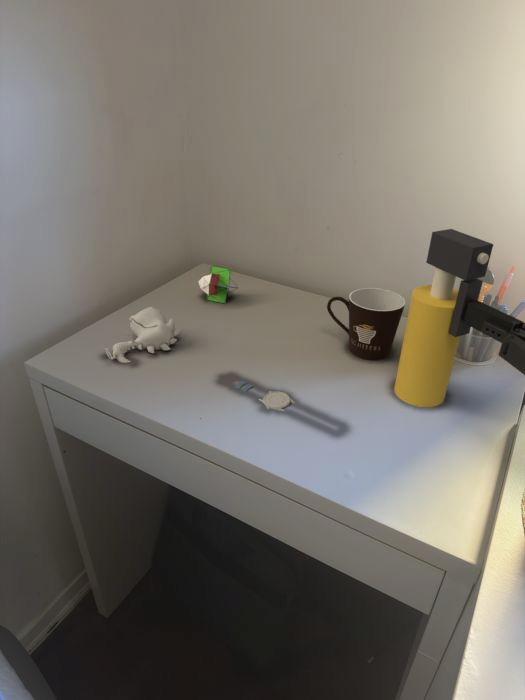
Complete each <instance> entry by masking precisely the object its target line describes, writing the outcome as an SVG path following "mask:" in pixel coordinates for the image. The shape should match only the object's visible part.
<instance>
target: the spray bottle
mask: <svg viewBox="0 0 525 700" xmlns="http://www.w3.org/2000/svg"><path fill="white" fill-rule="evenodd" d="M493 247H494V243H492V242H489V241H486V240H483V239H480V238H478V237H475V236H472V235H469V234H466V233H464V232H461V231H459V230H456V229H453V228H447V229H442V230H435V231H431V236H430V242H429V246H428V252H427V256H426V264H428V265H430V266H433V267H434V268H435V269H434V273H433V277H432V278H433V279H432V283H431V284H428V285H421V286H417V287H415V288H413V290H412V293H411V298H410V304H409V308H408V314H407V319H406V325H405V329H404V330H405V331H404V335H403V340H402V346H401V351H400V356H399V361H398V368H397V372H396V377H395V383H394V389H393V390H394V394H395V395H396V397H398V399H400V400H401V401H403V402H405V403H406V404H409V405H411V406H414V407H419V408H433V407H437V406H440V405H442V404H443V402H444V401H445V399H446V394H447V391H448V385H449V382H450V380H451V379H450V378H451V374H452V371H453V367H454V363H455V359H456V354H457V351H458V347H459V344H460V339H461V336H458V337H454V336H452V335H451V334H449V329H450V324H451V320H452V316H453V312H454V308H455V303H456V299H457V295H458V291H459V289H456V288H454V287H455V283H456V278H458V279H460V280H465V281H467V280H472V279H476V278H477V279H481V278H485V277H486V274H487V270H488V266H489V263H490V259H491V257H492V251H493Z"/></svg>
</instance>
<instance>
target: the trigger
mask: <svg viewBox="0 0 525 700" xmlns="http://www.w3.org/2000/svg"><path fill="white" fill-rule="evenodd" d="M483 282H484V280H482V279H480V278H476V279H472V280H467V281H465V280H463V279H461V280H460V283H459V287H458V295H457V299H456V303H455V308H454V312H453V316H452V320H451V324H450V329H449V334H451V335H452V336H454V337H458V336H460V337H461V336H465V335H468V334H470V331H471V328H472V327H470V326H469V325H467V324H465V323H463V320H464V316H465V312H466V308H467V304H468V302H471V301H475V300H478V301H479V297H480V295H481V290H482V286H483V284H484V283H483Z"/></svg>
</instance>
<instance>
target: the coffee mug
mask: <svg viewBox="0 0 525 700" xmlns="http://www.w3.org/2000/svg"><path fill="white" fill-rule="evenodd" d="M336 301H338V302H342V303H343V304H344V305H345V307H346V308H347V310H348V327H347V326H346V325H345V324H344V323H343V322H341V320H339V319H338V318H337V317H336V316H335V314H334V312H333V310H332V307H331V306H332V303H333V302H336ZM405 306H406V300H405V298H404V296H402V295H400V294H399V293H397V292H395V291H392V290H389V289H385V288H378V287H362V288H358V289H355V290H352V291H351V292H350V293H349V295H348V300H347V299H346V298H344V297H343V296H333V297H331V298H330V299H329V300H328V302H327V303H326V309H327V312H328V314H329V316H330V317H331V318H332V320H333V321H334V322H335V323H336V325H338V326H339V327H340V328H341V329H342V330H343V331H344V332H345V333H347V335H348V350H349V352H350V353H351V355H353V356H354V357H356V358H358V359H361V360H365V361H370V362H371V361H373V362H374V361H381V360H385V359H386V358H388V357H389V356H390V353H391V351H392V347H393V344H394V341H395V337H396V335H397V332H398V329H399V325H400V322H401V318H402V315H403V312H404V308H405Z"/></svg>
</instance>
